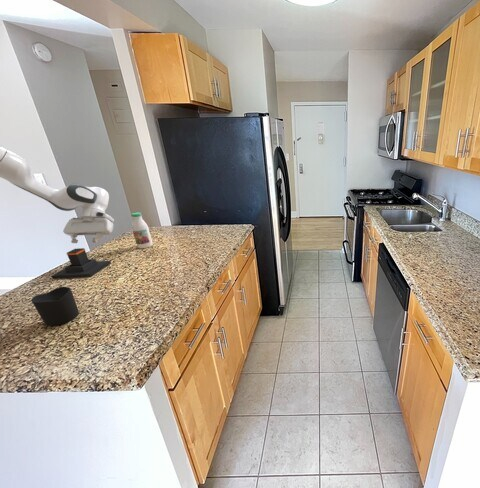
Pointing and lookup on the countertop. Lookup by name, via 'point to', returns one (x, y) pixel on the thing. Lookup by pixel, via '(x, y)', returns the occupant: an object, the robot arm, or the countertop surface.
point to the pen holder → (56, 306)
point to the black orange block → (78, 257)
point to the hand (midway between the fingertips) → (84, 242)
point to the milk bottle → (141, 231)
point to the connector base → (82, 269)
